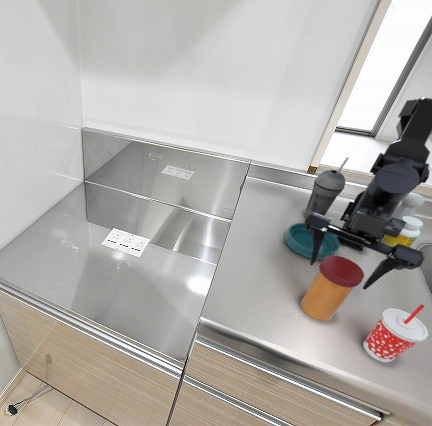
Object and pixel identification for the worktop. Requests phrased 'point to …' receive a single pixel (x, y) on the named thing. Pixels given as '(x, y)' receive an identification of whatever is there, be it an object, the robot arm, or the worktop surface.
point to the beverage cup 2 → (395, 334)
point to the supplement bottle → (405, 233)
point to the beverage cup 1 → (325, 191)
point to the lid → (341, 271)
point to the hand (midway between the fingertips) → (336, 276)
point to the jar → (323, 298)
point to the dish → (310, 242)
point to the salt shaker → (408, 206)
